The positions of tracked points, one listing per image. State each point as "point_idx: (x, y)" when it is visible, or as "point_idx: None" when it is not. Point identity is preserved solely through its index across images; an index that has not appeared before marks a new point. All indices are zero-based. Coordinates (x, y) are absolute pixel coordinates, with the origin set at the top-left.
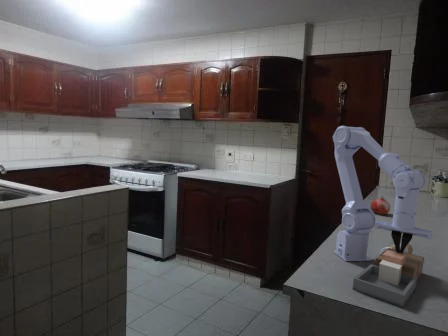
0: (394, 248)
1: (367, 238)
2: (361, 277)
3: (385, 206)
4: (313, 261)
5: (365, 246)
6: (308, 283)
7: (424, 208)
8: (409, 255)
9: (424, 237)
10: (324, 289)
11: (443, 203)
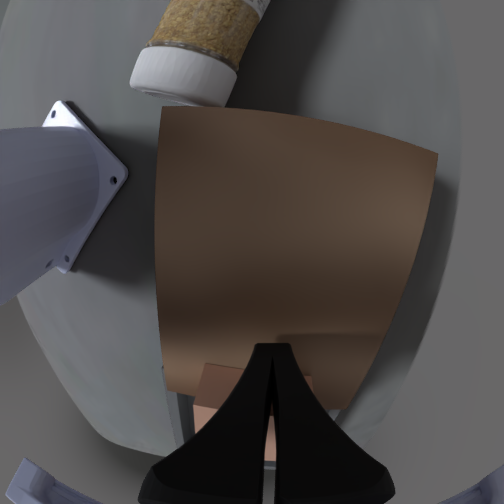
0: (206, 26)
1: (11, 225)
2: (185, 438)
3: None
4: (37, 331)
5: (50, 222)
6: (117, 433)
7: None
8: (345, 192)
9: (453, 497)
10: (148, 443)
11: None
